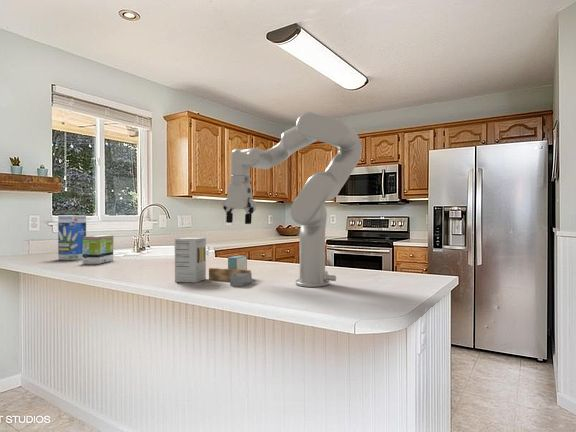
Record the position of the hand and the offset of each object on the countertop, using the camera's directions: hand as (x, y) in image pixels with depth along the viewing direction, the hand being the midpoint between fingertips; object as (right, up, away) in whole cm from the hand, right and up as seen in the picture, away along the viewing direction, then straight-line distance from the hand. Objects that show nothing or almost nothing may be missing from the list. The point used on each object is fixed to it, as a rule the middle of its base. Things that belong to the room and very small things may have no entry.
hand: (238, 223), depth 154 cm
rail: (-3, -23, -4) cm, 23 cm away
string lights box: (-107, -23, +71) cm, 131 cm away
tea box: (-84, -23, +56) cm, 104 cm away
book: (0, -23, 0) cm, 23 cm away
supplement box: (-19, -23, -3) cm, 30 cm away
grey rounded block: (+2, -23, -12) cm, 26 cm away
